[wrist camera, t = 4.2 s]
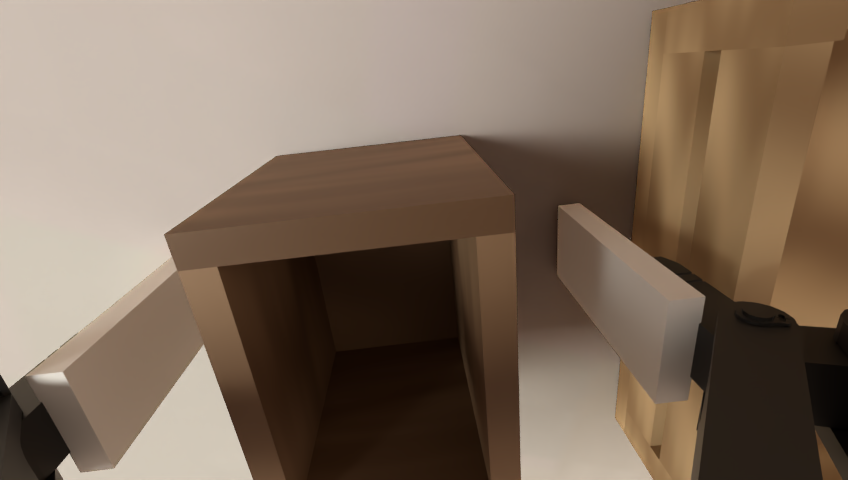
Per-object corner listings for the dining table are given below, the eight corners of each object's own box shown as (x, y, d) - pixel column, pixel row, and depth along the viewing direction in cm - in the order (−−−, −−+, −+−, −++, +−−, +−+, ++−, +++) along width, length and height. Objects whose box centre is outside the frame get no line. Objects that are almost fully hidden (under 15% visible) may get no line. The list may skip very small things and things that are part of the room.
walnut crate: (276, 155, 14) (164, 234, 7) (460, 135, 14) (514, 194, 7) (323, 357, 17) (275, 540, 10) (474, 339, 17) (521, 510, 10)
